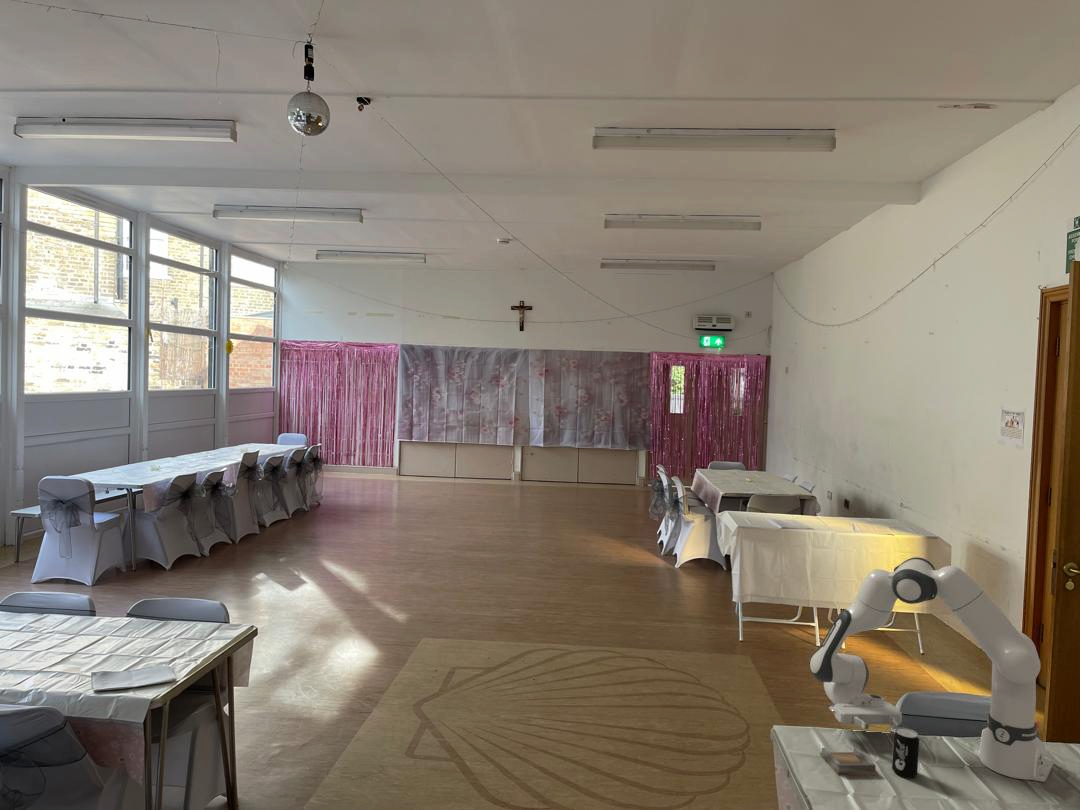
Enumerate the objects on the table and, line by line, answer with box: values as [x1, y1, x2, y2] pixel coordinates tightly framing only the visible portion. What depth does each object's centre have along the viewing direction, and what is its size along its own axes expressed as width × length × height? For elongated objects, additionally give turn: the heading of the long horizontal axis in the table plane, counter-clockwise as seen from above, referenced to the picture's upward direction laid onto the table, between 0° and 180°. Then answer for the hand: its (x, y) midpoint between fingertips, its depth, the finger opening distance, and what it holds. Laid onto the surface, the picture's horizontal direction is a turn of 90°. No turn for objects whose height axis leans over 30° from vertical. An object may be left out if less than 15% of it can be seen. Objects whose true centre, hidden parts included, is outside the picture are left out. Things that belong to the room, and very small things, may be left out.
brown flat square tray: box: [819, 746, 876, 776], centre depth 213 cm, size 11×11×3 cm
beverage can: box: [891, 727, 920, 779], centre depth 209 cm, size 7×7×12 cm
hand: (881, 726), depth 221 cm, fingers open, 8 cm apart
